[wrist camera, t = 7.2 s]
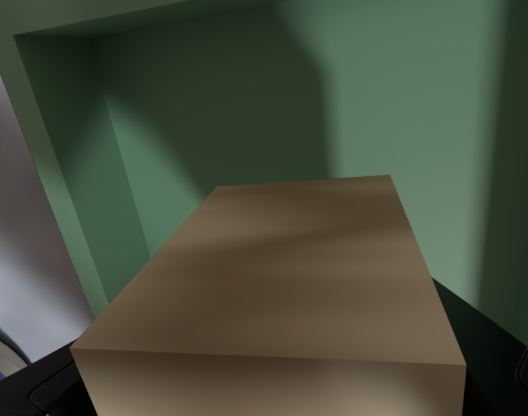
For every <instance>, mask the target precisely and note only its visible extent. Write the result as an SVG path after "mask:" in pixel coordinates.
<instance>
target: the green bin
mask: <svg viewBox="0 0 528 416" xmlns="http://www.w3.org/2000/svg"><path fill="white" fill-rule="evenodd" d="M0 75H1V78H2V80H3V83H4V85H5V88H6V91H7V93H8V96H9V99H10V101H11V104H12V106H13V109H14V112H15V114H16V117H17V120H18V122H19V125H20V127H21V130H22V133H23V135H24V138H25V140H26V143H27V146H28V148H29V151H30V154H31V156H32V159H33V161H34V164H35V167H36V169H37V172H38V175H39V177H40V180H41V182H42V185H43V188H44V190H45V193H46V195H47V198H48V201H49V203H50V206H51V209H52V211H53V214H54V216H55V219H56V222H57V224H58V227H59V229H60V232H61V235H62V237H63V240H64V243H65V245H66V248H67V250H68V253H69V256H70V258H71V261H72V264H73V266H74V269H75V271H76V274H77V277H78V279H79V282H80V284H81V287H82V290H83V292H84V295H85V298H86V300H87V303H88V305H89V308H90V311H91V313H92V316H93V319H94V320H95V319H96V318H97V317H98V316H99V315H100V314H101V313H102V312H103V311H104V309H105V308H106V307H107V306H108V305H109V304H110V303H111V302H112V301H113V300H114V299H115V297H116V296H117V295H118V294H119V293H120V292H121V291H122V290H123V289H124V288H125V287H126V285H127V284H128V283H129V282H130V281H131V280H132V279H133V278H134V277H135V276H136V274H137V273H138V272H139V271H140V270H141V269H142V268H143V267H144V266H145V265H146V264H147V262H148V261H149V260H150V259H151V258H152V257H153V256H154V255H155V254H156V253H157V252H158V250H159V249H160V248H161V247H162V246H163V245H164V244H165V243H166V242H167V241H168V239H169V238H170V237H171V236H172V235H173V234H174V233H175V232H176V231H177V230H178V229H179V227H180V226H181V225H182V224H183V223H184V222H185V221H186V220H187V219H188V218H189V217H190V215H191V214H192V213H193V212H194V211H195V210H196V209H197V208H198V207H199V206H200V205H201V203H202V202H203V201H204V200H205V199H206V198H207V197H208V196H209V195H210V194H211V192H212V191H213V190H214V189H215V188H216V187H217V186H230V185H245V184H259V183H274V182H288V181H303V180H317V179H331V178H346V177H360V176H375V175H389V174H390V176H391V178H392V181H393V183H394V186H395V188H396V191H397V193H398V196H399V198H400V201H401V203H402V206H403V208H404V211H405V213H406V216H407V218H408V221H409V223H410V226H411V228H412V231H413V233H414V235H415V238H416V240H417V243H418V245H419V248H420V250H421V253H422V255H423V258H424V260H425V263H426V265H427V268H428V270H429V273H430V275H431V277H433V278H434V279H436V280H437V281H438V282H440V283H441V284H442V285H444V286H445V287H447V288H448V289H449V290H451V291H452V292H453V293H455V294H456V295H458V296H459V297H460V298H462V299H463V300H465V301H466V302H467V303H469V304H470V305H471V306H473V307H474V308H476V309H477V310H478V311H480V312H481V313H482V314H484V315H485V316H487V317H488V318H489V319H491V320H492V321H494V322H495V323H496V324H498V325H499V326H500V327H502V328H503V329H505V330H506V331H507V332H509V333H510V334H511V335H513V336H514V337H516V338H517V339H518V340H520V341H521V342H523V343H524V344H525V345H527V346H528V0H0Z"/></svg>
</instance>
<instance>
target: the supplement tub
mask: <svg viewBox="0 0 528 416" xmlns="http://www.w3.org/2000/svg"><path fill="white" fill-rule="evenodd" d="M26 366H27V365H26V363H25V362H24V361H23V360H22V359H21V358H20V357H19V356H18V355H17V354H16V353H15V352H14V351H13V350H11V349H10V348H9V347H8V346H7V345H5V344H4V343H2V342H1V341H0V380H1V379H3V378H5V377H7V376H9V375H11V374H13V373H15V372H17V371H19V370H20V369H22V368H24V367H26Z"/></svg>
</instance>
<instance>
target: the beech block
mask: <svg viewBox="0 0 528 416" xmlns="http://www.w3.org/2000/svg"><path fill="white" fill-rule="evenodd" d="M69 349H70V351H71V354H72V356H73V358H74V361H75V363H76V365H77V368H78V370H79V372H80V375H81V377H82V379H83V382H84V384H85V386H86V389H87V391H88V393H89V396H90V398H91V400H92V403H93V405H94V407H95V410H96V412H97V414H98V416H462V408H463V397H464V386H465V376H466V363H465V360H464V358H463V355H462V353H461V350H460V348H459V345H458V343H457V340H456V338H455V335H454V333H453V330H452V328H451V325H450V323H449V320H448V318H447V315H446V313H445V310H444V308H443V305H442V303H441V300H440V298H439V295H438V293H437V290H436V288H435V285H434V283H433V280H432V278H431V275H430V273H429V270H428V268H427V265H426V263H425V260H424V258H423V255H422V253H421V250H420V248H419V245H418V243H417V240H416V238H415V235H414V233H413V231H412V228H411V226H410V223H409V221H408V218H407V216H406V213H405V211H404V208H403V206H402V203H401V201H400V198H399V196H398V193H397V191H396V188H395V186H394V183H393V181H392V178H391V176H390V174H389V175H375V176H360V177H346V178H331V179H317V180H303V181H288V182H274V183H259V184H245V185H230V186H217V187H216V188H215V189H214V190H213V191H212V192H211V194H210V195H209V196H208V197H207V198H206V199H205V200H204V201H203V202H202V203H201V205H200V206H199V207H198V208H197V209H196V210H195V211H194V212H193V213H192V214H191V215H190V217H189V218H188V219H187V220H186V221H185V222H184V223H183V224H182V225H181V226H180V227H179V229H178V230H177V231H176V232H175V233H174V234H173V235H172V236H171V237H170V238H169V239H168V241H167V242H166V243H165V244H164V245H163V246H162V247H161V248H160V249H159V250H158V252H157V253H156V254H155V255H154V256H153V257H152V258H151V259H150V260H149V261H148V262H147V264H146V265H145V266H144V267H143V268H142V269H141V270H140V271H139V272H138V273H137V274H136V276H135V277H134V278H133V279H132V280H131V281H130V282H129V283H128V284H127V285H126V287H125V288H124V289H123V290H122V291H121V292H120V293H119V294H118V295H117V296H116V297H115V299H114V300H113V301H112V302H111V303H110V304H109V305H108V306H107V307H106V308H105V309H104V311H103V312H102V313H101V314H100V315H99V316H98V317H97V318H96V319H95V320H94V321H93V323H92V324H91V325H90V326H89V327H88V328H87V329H86V330H85V331H84V332H83V334H82V335H81V336H80V337H79V338H78V339H77V340H76V341H75V342H74V343H73V344H72V346H71V347H70V348H69Z"/></svg>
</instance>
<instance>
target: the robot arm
mask: <svg viewBox="0 0 528 416" xmlns="http://www.w3.org/2000/svg"><path fill="white" fill-rule="evenodd" d="M431 278H432V280H433V283H434V285H435V288H436V290H437V293H438V295H439V298H440V300H441V303H442V305H443V308H444V310H445V313H446V315H447V318H448V320H449V323H450V325H451V328H452V330H453V333H454V335H455V338H456V340H457V343H458V345H459V348H460V350H461V353H462V355H463V358H464V360H465V363H466V376H465V386H464V397H463V408H462V416H528V346H527V345H525V344H524V343H523V342H521V341H520V340H518V339H517V338H516V337H514V336H513V335H511V334H510V333H509V332H507V331H506V330H505V329H503V328H502V327H500V326H499V325H498V324H496V323H495V322H494V321H492V320H491V319H489V318H488V317H487V316H485V315H484V314H482V313H481V312H480V311H478V310H477V309H476V308H474V307H473V306H471V305H470V304H469V303H467V302H466V301H465V300H463V299H462V298H460V297H459V296H458V295H456V294H455V293H453V292H452V291H451V290H449V289H448V288H447V287H445V286H444V285H442V284H441V283H440V282H438V281H437V280H436V279H434V278H433V277H431ZM77 339H78V338H77ZM77 339H76V340H77ZM76 340H74V341H72V342H70V343H69V344H67V345H65V346H63V347H61V348H60V349H58V350H56V351H54V352H52V353H51V354H49V355H47V356H45V357H43V358H41V359H40V360H38V361H36V362H34V363H32V364H30V365H28V366H26V367H24V368H22V369H20V370H19V371H17V372H15V373H13V374H11V375H9V376H7V377H5V378H3V379H1V380H0V416H98V414H97V412H96V410H95V407H94V405H93V403H92V400H91V398H90V396H89V393H88V391H87V389H86V386H85V384H84V382H83V379H82V377H81V375H80V372H79V370H78V368H77V365H76V363H75V361H74V358H73V356H72V354H71V351H70V349H69V348H70V347H71V346H72V344H73V343H74V342H75V341H76Z"/></svg>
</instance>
